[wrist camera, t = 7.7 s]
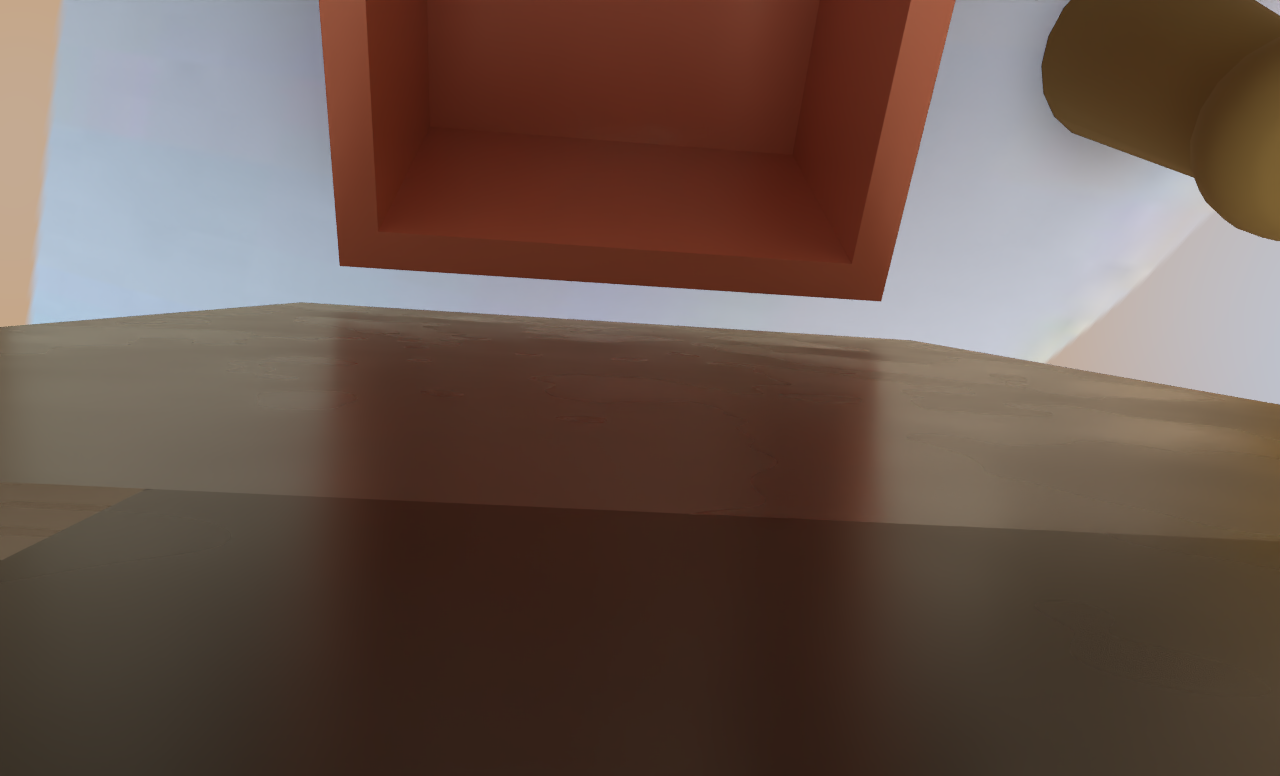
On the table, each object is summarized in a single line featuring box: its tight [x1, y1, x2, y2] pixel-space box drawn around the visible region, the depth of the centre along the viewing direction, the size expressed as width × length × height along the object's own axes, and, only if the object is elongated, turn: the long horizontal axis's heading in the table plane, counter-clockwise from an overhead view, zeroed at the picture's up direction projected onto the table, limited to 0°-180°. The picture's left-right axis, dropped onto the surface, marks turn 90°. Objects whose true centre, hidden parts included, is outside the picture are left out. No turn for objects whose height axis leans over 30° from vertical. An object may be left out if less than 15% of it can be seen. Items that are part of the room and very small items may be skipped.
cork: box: [1042, 0, 1280, 241], centre depth 27 cm, size 6×6×11 cm
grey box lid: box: [0, 302, 1280, 776], centre depth 14 cm, size 24×16×1 cm
